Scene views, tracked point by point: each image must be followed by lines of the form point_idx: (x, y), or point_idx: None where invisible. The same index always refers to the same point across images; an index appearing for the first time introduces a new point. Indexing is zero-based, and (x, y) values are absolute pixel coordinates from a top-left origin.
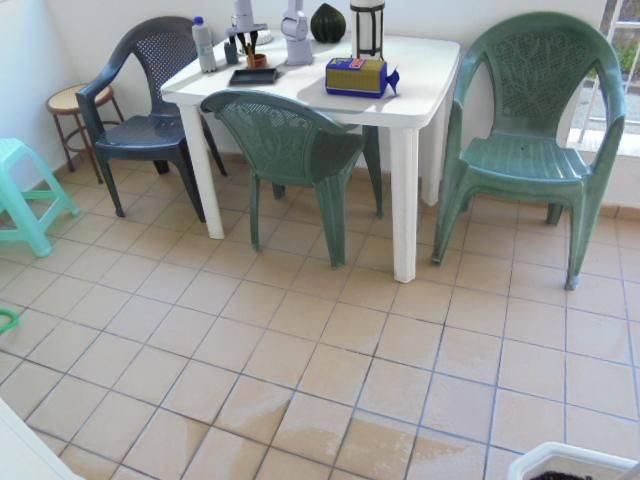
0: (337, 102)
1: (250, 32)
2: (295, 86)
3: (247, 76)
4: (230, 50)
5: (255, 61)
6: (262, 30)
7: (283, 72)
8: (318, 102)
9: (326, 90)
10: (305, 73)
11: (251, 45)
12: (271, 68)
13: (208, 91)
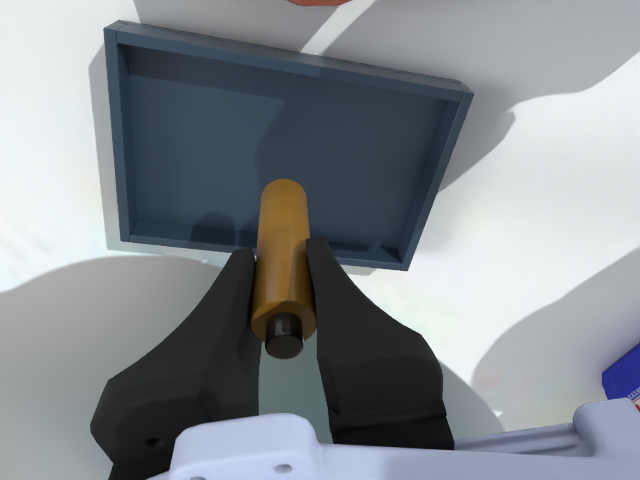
0: None
1: (339, 433)
2: (504, 289)
3: (231, 112)
4: None
5: (307, 5)
6: (532, 445)
7: (506, 74)
8: (534, 415)
9: (604, 389)
10: (635, 135)
11: (314, 327)
12: (431, 90)
13: (4, 258)
